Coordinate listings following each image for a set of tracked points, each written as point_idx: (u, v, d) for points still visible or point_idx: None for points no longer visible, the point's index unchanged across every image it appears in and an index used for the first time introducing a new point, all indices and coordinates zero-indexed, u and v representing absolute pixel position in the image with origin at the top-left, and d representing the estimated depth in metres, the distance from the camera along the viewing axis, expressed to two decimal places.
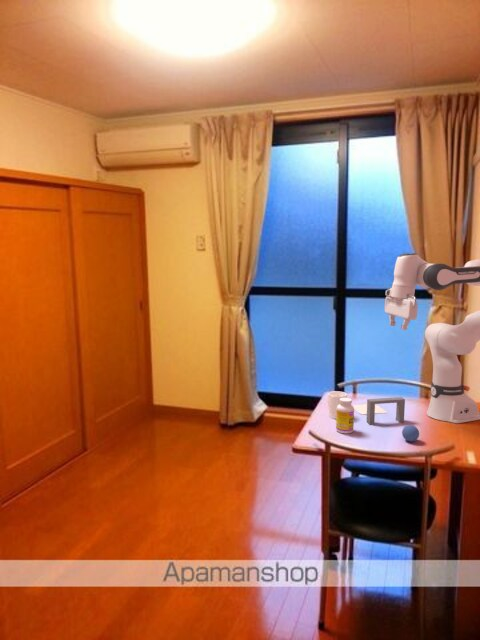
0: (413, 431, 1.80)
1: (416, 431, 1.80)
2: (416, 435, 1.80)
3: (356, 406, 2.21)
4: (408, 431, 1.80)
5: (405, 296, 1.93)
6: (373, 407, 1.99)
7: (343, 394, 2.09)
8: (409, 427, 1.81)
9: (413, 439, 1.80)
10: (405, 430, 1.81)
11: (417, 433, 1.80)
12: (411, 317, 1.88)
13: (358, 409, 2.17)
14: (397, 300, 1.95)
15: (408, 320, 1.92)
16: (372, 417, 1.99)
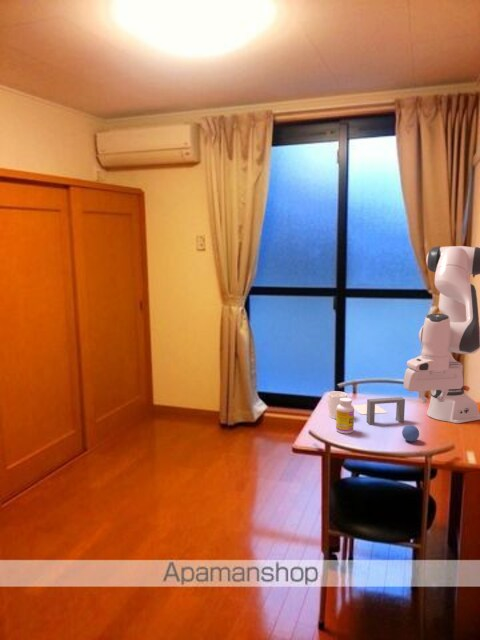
0: (413, 431, 1.80)
1: (416, 431, 1.80)
2: (416, 435, 1.80)
3: (356, 406, 2.21)
4: (408, 431, 1.80)
5: None
6: (373, 407, 1.99)
7: (343, 394, 2.09)
8: (409, 427, 1.81)
9: (413, 439, 1.80)
10: (405, 430, 1.81)
11: (417, 433, 1.80)
12: None
13: (358, 409, 2.17)
14: (443, 372, 1.63)
15: None
16: (372, 417, 1.99)
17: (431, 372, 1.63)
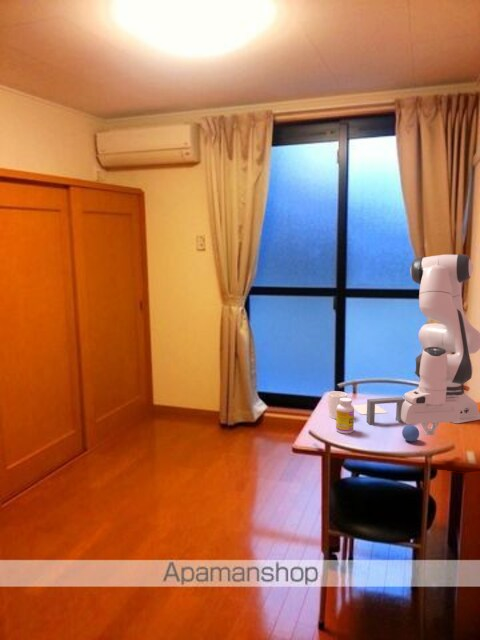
0: (413, 431, 1.80)
1: (416, 431, 1.80)
2: (416, 435, 1.80)
3: (356, 406, 2.21)
4: (408, 431, 1.80)
5: None
6: (373, 407, 1.99)
7: (343, 394, 2.09)
8: (409, 427, 1.81)
9: (413, 439, 1.80)
10: (405, 430, 1.81)
11: (417, 433, 1.80)
12: None
13: (358, 409, 2.17)
14: (440, 405, 1.65)
15: None
16: (372, 417, 1.99)
17: (428, 405, 1.65)
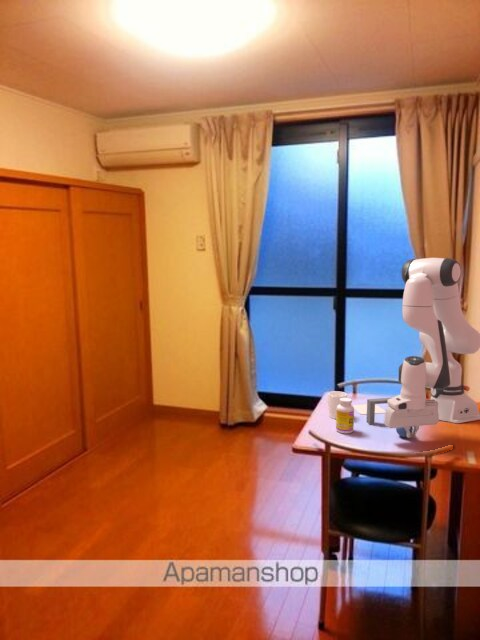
0: None
1: None
2: None
3: (356, 406, 2.21)
4: None
5: None
6: (373, 407, 1.99)
7: (343, 394, 2.09)
8: None
9: None
10: None
11: None
12: None
13: (358, 409, 2.17)
14: (420, 410, 1.79)
15: None
16: (372, 417, 1.99)
17: (409, 410, 1.79)
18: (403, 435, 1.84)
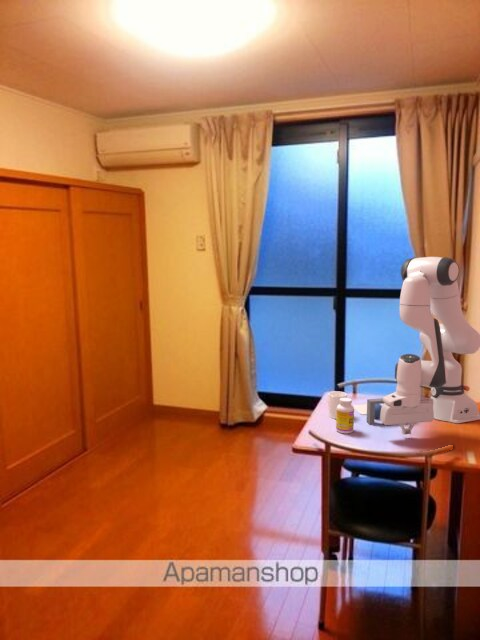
0: None
1: None
2: None
3: (356, 406, 2.21)
4: None
5: None
6: (373, 407, 1.99)
7: (343, 394, 2.09)
8: None
9: None
10: None
11: None
12: None
13: (358, 409, 2.17)
14: (415, 407, 1.81)
15: None
16: (372, 417, 1.99)
17: (404, 407, 1.81)
18: (375, 410, 2.05)
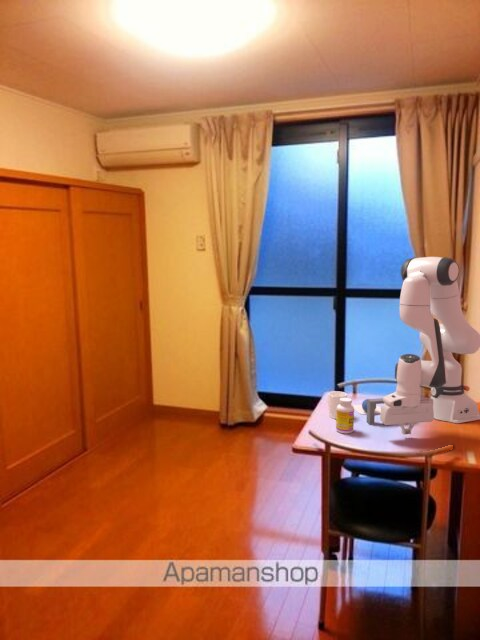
0: None
1: None
2: None
3: (356, 406, 2.21)
4: (365, 411, 2.12)
5: None
6: (373, 407, 1.99)
7: (343, 394, 2.09)
8: None
9: None
10: (364, 409, 2.12)
11: None
12: None
13: (358, 409, 2.17)
14: (415, 407, 1.81)
15: None
16: (372, 417, 1.99)
17: (404, 407, 1.81)
18: (364, 400, 2.14)
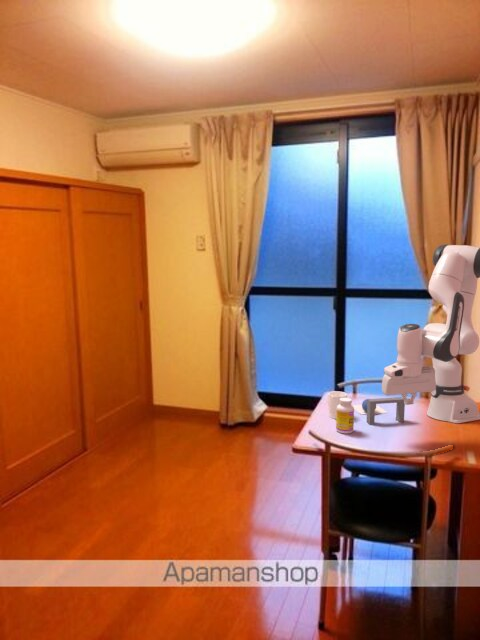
0: None
1: None
2: None
3: (356, 406, 2.21)
4: (365, 411, 2.12)
5: None
6: (373, 407, 1.99)
7: (343, 394, 2.09)
8: None
9: None
10: (364, 409, 2.12)
11: None
12: None
13: (358, 409, 2.17)
14: (416, 377, 1.80)
15: None
16: (372, 417, 1.99)
17: (406, 377, 1.80)
18: (364, 400, 2.14)
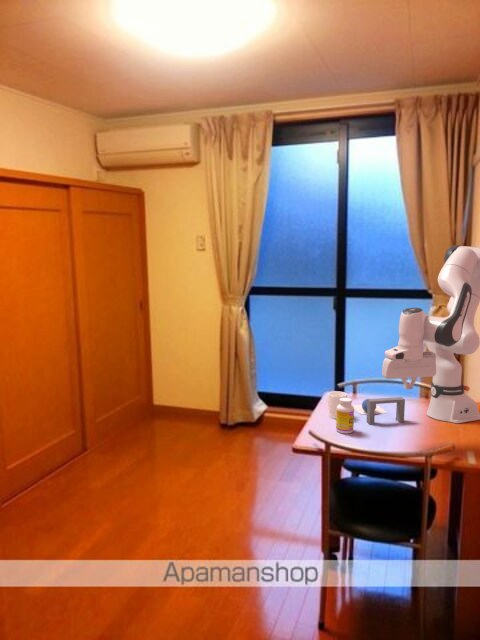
0: None
1: None
2: None
3: (356, 406, 2.21)
4: (365, 411, 2.12)
5: None
6: (373, 407, 1.99)
7: (343, 394, 2.09)
8: None
9: None
10: (364, 409, 2.12)
11: None
12: None
13: (358, 409, 2.17)
14: (417, 361, 1.79)
15: None
16: (372, 417, 1.99)
17: (406, 361, 1.79)
18: (364, 400, 2.14)
